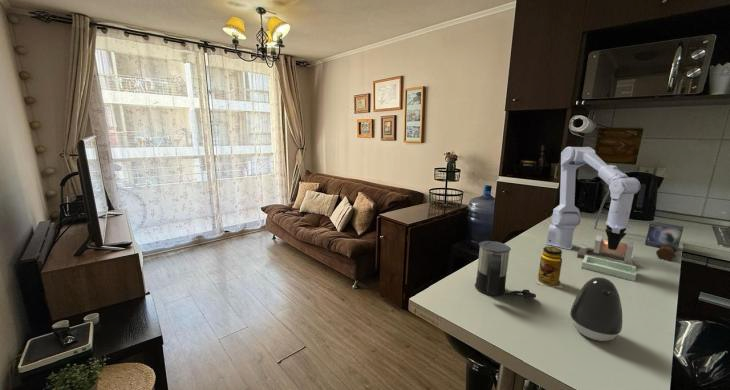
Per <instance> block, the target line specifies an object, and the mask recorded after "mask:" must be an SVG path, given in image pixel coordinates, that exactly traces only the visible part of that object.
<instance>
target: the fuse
mask: <svg viewBox="0 0 730 390" xmlns="http://www.w3.org/2000/svg"><path fill="white" fill-rule="evenodd" d="M593 249H594V253H599V251H604V252H609V253H614V254H619V255H623V256H625V259H627V260H631V256H632V255H633V250H634V241H630V240H627V242H626V243H625V242H621V241H620V243H619V245H618V247H617V249H616V250H612V249H608V239H604V238H603V236H602V235H599V234H597V235H596V238H595V242H594V246H593Z"/></svg>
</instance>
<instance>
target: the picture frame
mask: <svg viewBox="0 0 730 390" xmlns="http://www.w3.org/2000/svg"><path fill="white" fill-rule="evenodd" d="M683 231H684V226H683V225H676V224H673V223H672V224H670V223H665V222H660V221H655V220H652V221H650V223H649V226H648V230H647V235H646V237H645V243H644V245H645V246H648V247H653V248H658V249H660V248H661V247H662V246H663V245H664V244H666V243H667V244H672V245H675V247H676V249H677V251H678V250H679V245H680V242H681V240H682V239H681V238H682V235H683Z"/></svg>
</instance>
